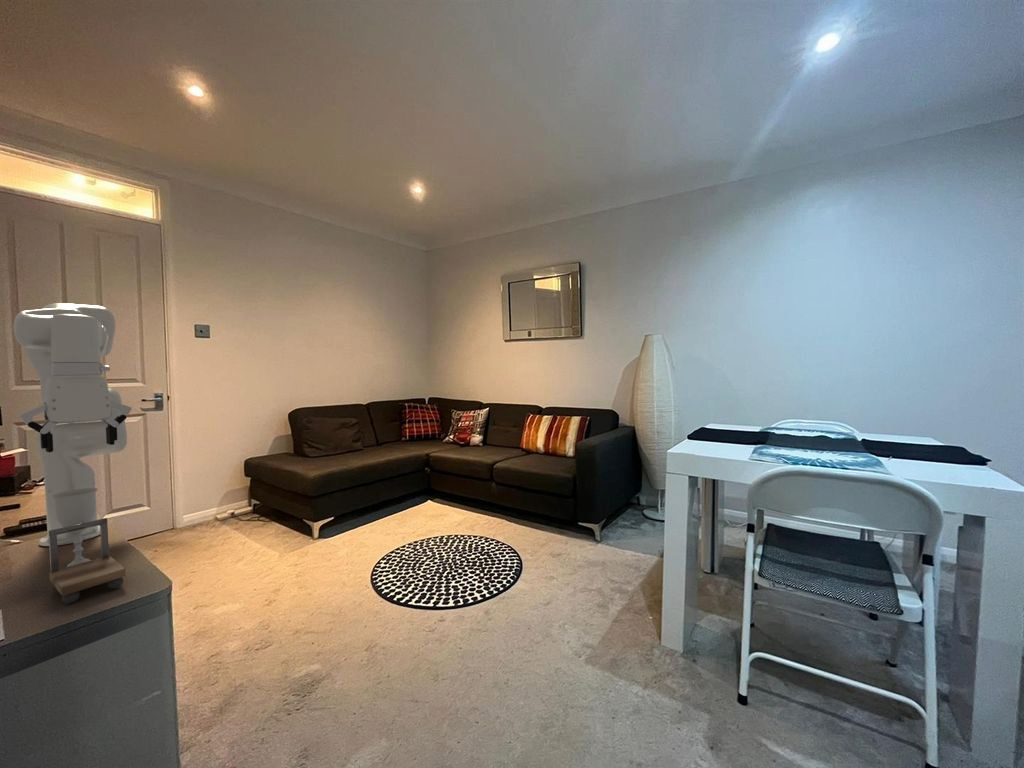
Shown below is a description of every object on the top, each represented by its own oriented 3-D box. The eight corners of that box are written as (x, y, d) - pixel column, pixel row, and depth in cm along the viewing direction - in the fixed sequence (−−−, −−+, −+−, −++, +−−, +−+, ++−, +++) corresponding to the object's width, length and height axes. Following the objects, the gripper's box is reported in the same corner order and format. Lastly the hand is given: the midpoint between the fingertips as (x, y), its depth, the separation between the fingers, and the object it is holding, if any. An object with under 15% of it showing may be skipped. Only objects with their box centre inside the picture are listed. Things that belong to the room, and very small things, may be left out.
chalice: (48, 581, 90) (43, 498, 89) (66, 568, 96) (62, 490, 95) (92, 573, 92) (88, 493, 92) (107, 561, 99) (103, 486, 98)
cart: (50, 590, 85) (46, 530, 85) (110, 572, 93) (107, 517, 92) (62, 608, 78) (59, 542, 78) (126, 587, 86) (123, 527, 85)
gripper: (123, 370, 101) (127, 440, 102) (13, 371, 87) (18, 452, 87) (134, 370, 97) (137, 443, 98) (20, 371, 83) (25, 456, 83)
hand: (81, 447), depth 93 cm, fingers open, 9 cm apart
